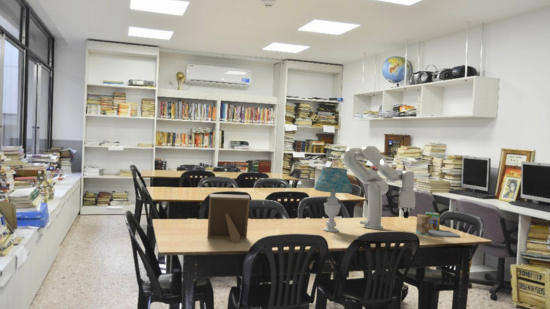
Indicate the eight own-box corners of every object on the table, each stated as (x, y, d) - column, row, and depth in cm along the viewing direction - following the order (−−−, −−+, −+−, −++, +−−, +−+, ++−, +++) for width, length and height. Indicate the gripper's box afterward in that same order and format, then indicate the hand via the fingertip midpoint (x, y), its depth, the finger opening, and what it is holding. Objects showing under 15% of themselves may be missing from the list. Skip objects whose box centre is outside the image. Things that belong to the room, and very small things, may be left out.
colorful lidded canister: (439, 231, 316) (440, 209, 316) (425, 230, 318) (426, 208, 317) (437, 229, 325) (438, 208, 325) (423, 227, 327) (425, 206, 326)
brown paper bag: (420, 234, 301) (422, 216, 301) (416, 232, 309) (417, 214, 309) (428, 235, 302) (429, 216, 301) (423, 232, 310) (424, 214, 309)
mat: (433, 236, 298) (433, 234, 298) (422, 231, 314) (423, 229, 314) (460, 237, 300) (460, 235, 300) (448, 232, 315) (448, 230, 315)
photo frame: (207, 236, 263) (209, 192, 262) (245, 237, 267) (248, 193, 265) (207, 242, 249) (210, 196, 247) (248, 243, 252) (250, 197, 251)
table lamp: (355, 230, 303) (359, 169, 301) (339, 236, 283) (343, 170, 281) (322, 225, 316) (326, 166, 314) (305, 230, 296) (309, 167, 294)
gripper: (398, 190, 298) (396, 218, 299) (420, 191, 300) (419, 219, 301) (394, 188, 306) (392, 216, 307) (416, 189, 307) (414, 217, 308)
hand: (405, 217), depth 304 cm, fingers closed
